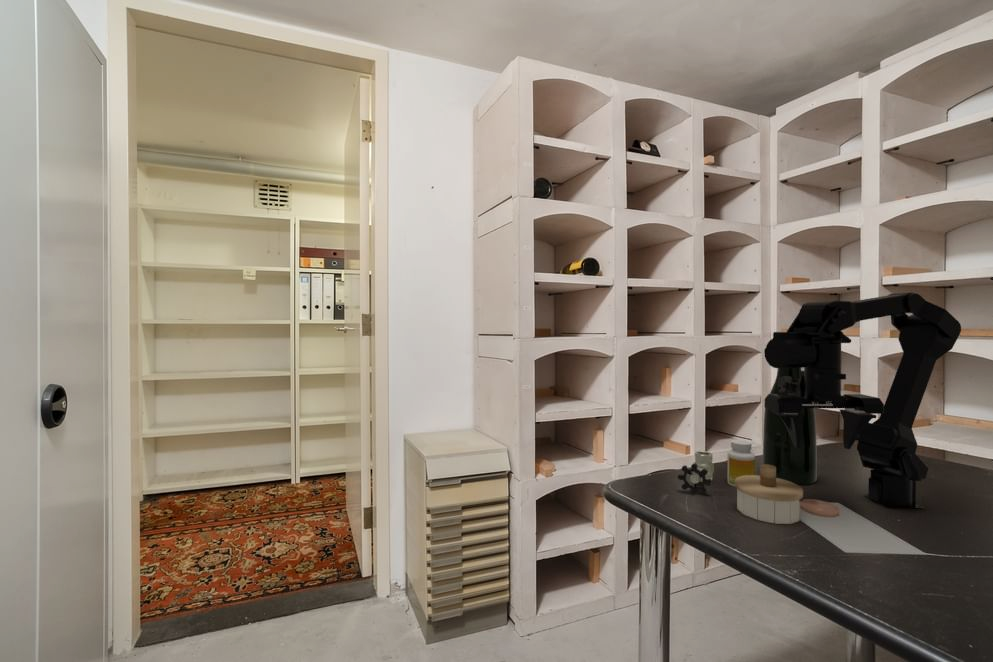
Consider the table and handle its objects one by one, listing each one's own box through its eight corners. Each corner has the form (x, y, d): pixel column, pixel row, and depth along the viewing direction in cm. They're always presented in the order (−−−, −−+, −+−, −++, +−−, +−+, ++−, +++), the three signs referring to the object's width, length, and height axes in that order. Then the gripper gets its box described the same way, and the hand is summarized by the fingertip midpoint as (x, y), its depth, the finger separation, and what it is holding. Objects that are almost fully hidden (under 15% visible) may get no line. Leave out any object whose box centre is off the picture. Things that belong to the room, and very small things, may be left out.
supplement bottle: (758, 490, 97) (759, 445, 97) (731, 489, 98) (731, 444, 98) (750, 482, 103) (750, 439, 102) (724, 480, 104) (724, 438, 104)
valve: (690, 476, 107) (677, 492, 97) (690, 448, 107) (677, 461, 97) (721, 482, 103) (710, 499, 93) (721, 453, 103) (711, 467, 93)
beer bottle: (828, 485, 100) (829, 336, 100) (786, 488, 99) (787, 336, 98) (791, 470, 111) (791, 335, 110) (752, 472, 109) (752, 335, 108)
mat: (838, 504, 90) (838, 502, 90) (927, 557, 70) (927, 554, 70) (775, 503, 90) (775, 501, 90) (845, 554, 70) (845, 552, 70)
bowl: (780, 503, 90) (780, 481, 90) (811, 526, 80) (811, 501, 80) (728, 502, 91) (728, 480, 91) (753, 524, 81) (753, 499, 81)
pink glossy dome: (826, 504, 89) (826, 499, 89) (846, 518, 83) (847, 512, 83) (793, 503, 89) (794, 498, 89) (811, 516, 83) (811, 511, 83)
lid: (817, 502, 80) (817, 476, 80) (752, 501, 80) (752, 475, 80) (781, 480, 91) (781, 458, 91) (725, 479, 91) (725, 457, 91)
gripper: (844, 363, 94) (843, 438, 94) (750, 363, 95) (750, 437, 95) (886, 368, 83) (885, 453, 83) (780, 368, 84) (780, 452, 84)
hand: (821, 448), depth 87 cm, fingers open, 9 cm apart
